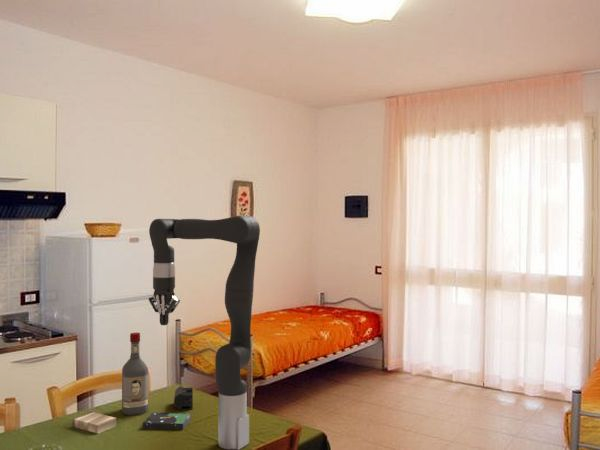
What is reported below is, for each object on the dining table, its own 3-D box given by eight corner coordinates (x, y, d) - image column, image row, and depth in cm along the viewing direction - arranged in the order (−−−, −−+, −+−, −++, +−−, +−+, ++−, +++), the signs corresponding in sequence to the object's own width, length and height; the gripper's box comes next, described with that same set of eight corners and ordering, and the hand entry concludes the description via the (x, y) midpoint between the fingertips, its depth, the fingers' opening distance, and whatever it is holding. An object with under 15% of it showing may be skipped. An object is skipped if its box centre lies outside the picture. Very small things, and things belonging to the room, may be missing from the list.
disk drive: (142, 430, 184) (183, 431, 184) (142, 422, 184) (183, 423, 184) (152, 419, 195) (191, 420, 194) (151, 412, 195) (191, 412, 194)
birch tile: (116, 417, 187) (91, 411, 193) (98, 425, 180) (72, 418, 186) (116, 426, 187) (91, 419, 193) (98, 434, 180) (72, 427, 186)
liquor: (121, 408, 204) (121, 332, 204) (145, 405, 208) (145, 330, 208) (123, 416, 196) (123, 336, 196) (148, 413, 199) (148, 334, 199)
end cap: (174, 402, 211) (174, 386, 211) (192, 401, 213) (192, 385, 213) (173, 411, 202) (173, 394, 202) (192, 410, 203) (192, 392, 203)
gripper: (185, 275, 183) (185, 324, 183) (157, 273, 189) (157, 321, 189) (171, 277, 177) (171, 328, 177) (142, 275, 183) (142, 325, 183)
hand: (163, 324), depth 183 cm, fingers closed
